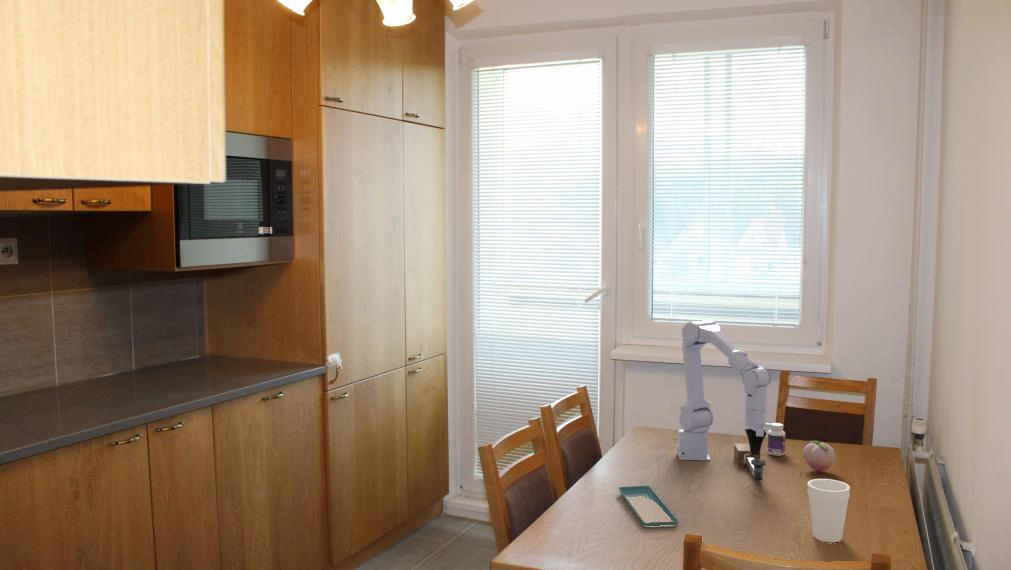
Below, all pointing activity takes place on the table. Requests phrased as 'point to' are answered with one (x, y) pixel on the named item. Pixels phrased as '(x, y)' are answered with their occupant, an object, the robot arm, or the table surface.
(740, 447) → the wooden mallet head
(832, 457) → the decorative fruit
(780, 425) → the pill bottle
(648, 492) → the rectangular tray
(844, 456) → the table surface
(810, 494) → the foam cup
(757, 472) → the handle rod
